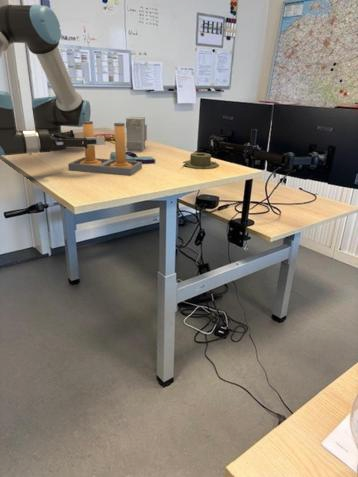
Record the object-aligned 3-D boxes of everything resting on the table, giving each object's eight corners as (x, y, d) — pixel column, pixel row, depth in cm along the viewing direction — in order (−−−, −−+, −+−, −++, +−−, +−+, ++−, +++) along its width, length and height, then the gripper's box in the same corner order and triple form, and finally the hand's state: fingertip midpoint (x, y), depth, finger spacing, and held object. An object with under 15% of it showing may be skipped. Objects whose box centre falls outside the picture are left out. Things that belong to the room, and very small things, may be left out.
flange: (213, 151, 155) (179, 151, 152) (223, 158, 141) (186, 158, 139) (212, 161, 157) (179, 162, 154) (222, 170, 143) (186, 170, 141)
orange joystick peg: (76, 169, 131) (71, 122, 124) (86, 164, 138) (82, 119, 131) (96, 170, 130) (93, 123, 123) (105, 166, 137) (102, 121, 130)
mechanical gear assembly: (111, 136, 212) (86, 138, 205) (110, 129, 210) (85, 131, 204) (130, 144, 188) (103, 147, 182) (130, 136, 187) (102, 139, 180)
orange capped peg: (106, 171, 129) (104, 124, 122) (115, 166, 136) (113, 121, 129) (127, 173, 127) (126, 125, 120) (135, 168, 134) (134, 122, 127)
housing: (69, 173, 130) (68, 163, 129) (84, 166, 141) (83, 157, 139) (131, 178, 126) (130, 169, 124) (141, 171, 136) (141, 161, 135)
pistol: (158, 167, 145) (124, 170, 138) (141, 159, 157) (109, 162, 150) (158, 157, 143) (124, 159, 136) (141, 150, 155) (109, 152, 148)
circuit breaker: (147, 146, 183) (147, 116, 177) (142, 152, 170) (141, 119, 164) (133, 146, 184) (132, 115, 177) (126, 151, 171) (125, 118, 164)
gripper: (31, 146, 132) (87, 142, 142) (47, 159, 113) (110, 154, 123) (28, 125, 129) (85, 123, 139) (44, 135, 109) (109, 131, 120)
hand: (97, 137), depth 131 cm, fingers open, 13 cm apart
